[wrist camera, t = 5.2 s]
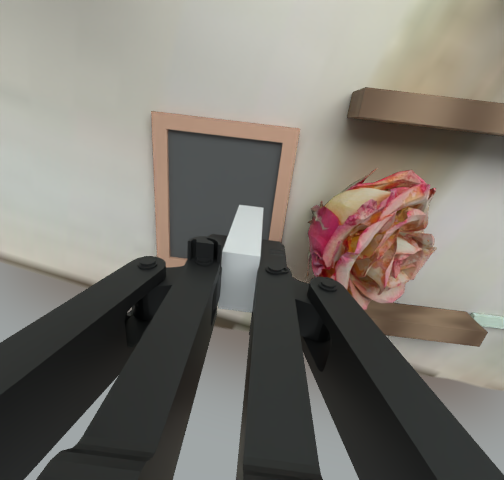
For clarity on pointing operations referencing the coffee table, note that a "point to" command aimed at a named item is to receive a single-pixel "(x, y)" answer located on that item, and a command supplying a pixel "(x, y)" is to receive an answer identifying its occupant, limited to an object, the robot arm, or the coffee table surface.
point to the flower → (373, 236)
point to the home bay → (489, 320)
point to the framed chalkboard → (217, 177)
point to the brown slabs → (442, 117)
